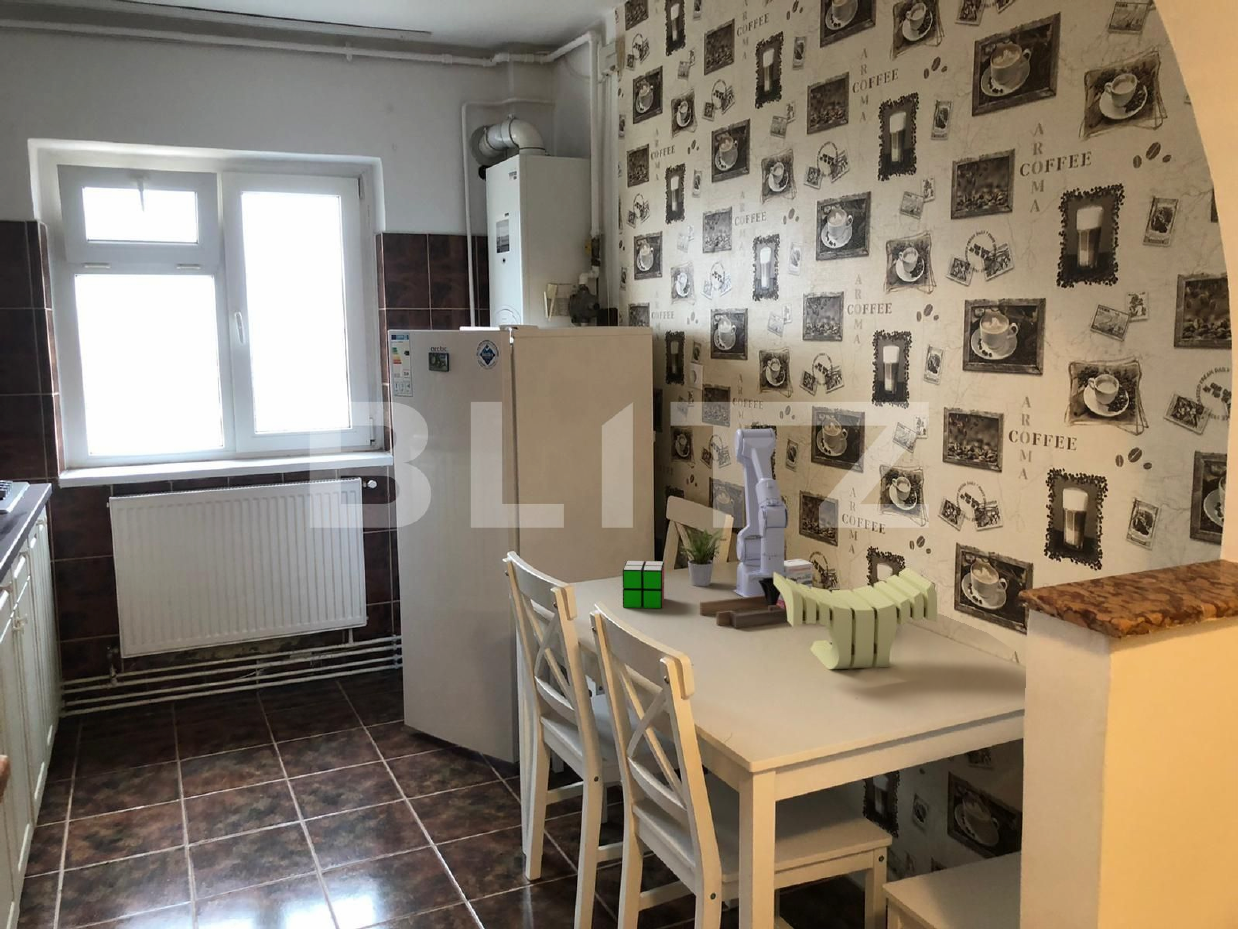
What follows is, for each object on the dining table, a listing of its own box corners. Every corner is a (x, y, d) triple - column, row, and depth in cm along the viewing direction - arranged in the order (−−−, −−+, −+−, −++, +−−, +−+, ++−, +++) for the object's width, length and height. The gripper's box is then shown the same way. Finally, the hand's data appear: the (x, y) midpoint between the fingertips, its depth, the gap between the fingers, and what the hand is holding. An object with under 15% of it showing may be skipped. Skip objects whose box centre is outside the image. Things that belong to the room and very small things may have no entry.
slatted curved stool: (792, 676, 200) (793, 590, 198) (772, 650, 216) (773, 571, 214) (934, 670, 203) (937, 586, 201) (904, 645, 219) (907, 567, 217)
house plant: (739, 581, 274) (740, 524, 272) (717, 593, 263) (718, 533, 260) (694, 575, 282) (694, 519, 279) (670, 586, 270) (670, 527, 268)
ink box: (785, 612, 245) (785, 566, 243) (773, 607, 249) (774, 561, 247) (812, 608, 248) (813, 562, 247) (800, 603, 253) (801, 558, 251)
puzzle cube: (664, 598, 258) (664, 561, 257) (662, 609, 248) (662, 570, 247) (626, 597, 259) (626, 560, 258) (622, 608, 249) (622, 569, 248)
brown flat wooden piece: (700, 614, 244) (700, 602, 243) (808, 601, 255) (808, 589, 254) (726, 630, 231) (726, 617, 230) (839, 615, 242) (839, 603, 241)
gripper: (754, 559, 237) (753, 614, 239) (806, 554, 242) (805, 608, 244) (740, 553, 243) (739, 607, 245) (791, 548, 249) (790, 601, 250)
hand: (771, 607), depth 245 cm, fingers closed
